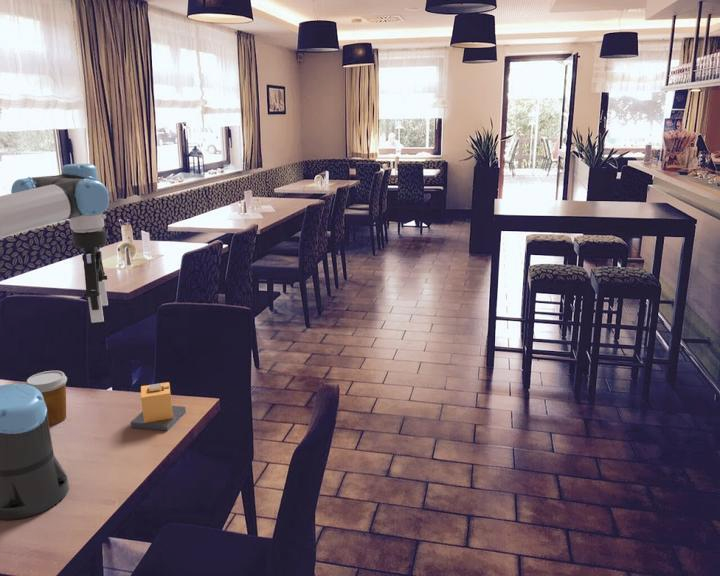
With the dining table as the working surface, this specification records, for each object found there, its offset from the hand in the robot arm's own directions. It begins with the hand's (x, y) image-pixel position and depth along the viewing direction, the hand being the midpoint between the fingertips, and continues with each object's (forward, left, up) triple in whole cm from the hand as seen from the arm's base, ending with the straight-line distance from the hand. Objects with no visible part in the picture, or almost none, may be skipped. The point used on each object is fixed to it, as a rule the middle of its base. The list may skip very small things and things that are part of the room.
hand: (100, 313), depth 150 cm
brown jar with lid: (-10, +12, -29) cm, 33 cm away
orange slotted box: (+6, -11, -27) cm, 30 cm away
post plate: (+6, -11, -28) cm, 31 cm away
